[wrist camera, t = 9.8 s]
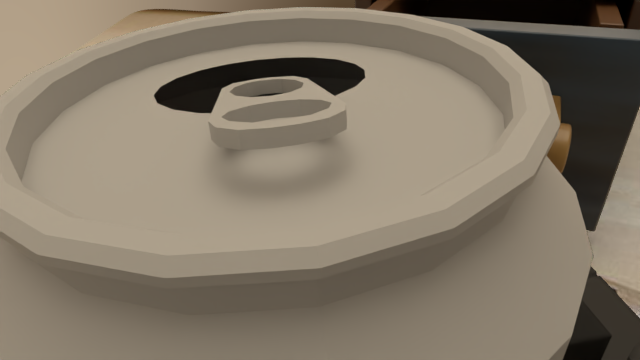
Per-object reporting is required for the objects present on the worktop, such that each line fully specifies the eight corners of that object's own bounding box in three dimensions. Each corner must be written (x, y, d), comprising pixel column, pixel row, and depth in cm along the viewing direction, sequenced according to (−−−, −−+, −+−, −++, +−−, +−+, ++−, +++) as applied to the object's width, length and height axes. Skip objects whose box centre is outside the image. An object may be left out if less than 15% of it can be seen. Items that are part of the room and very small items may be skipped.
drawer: (601, 309, 16) (691, 94, 12) (294, 234, 20) (277, 52, 16) (583, 99, 30) (622, -37, 25) (401, 79, 34) (408, -42, 29)
